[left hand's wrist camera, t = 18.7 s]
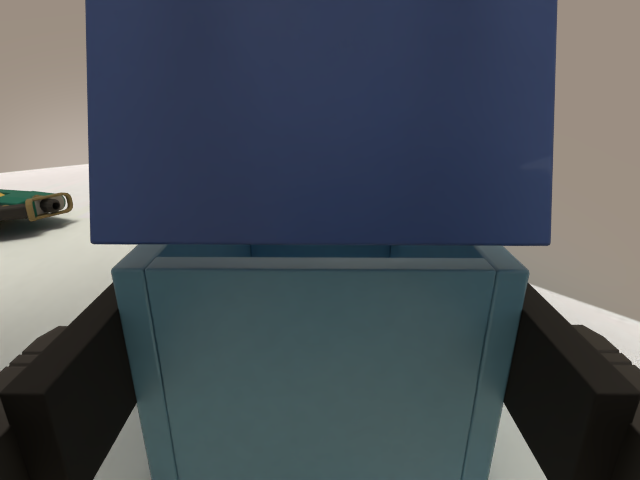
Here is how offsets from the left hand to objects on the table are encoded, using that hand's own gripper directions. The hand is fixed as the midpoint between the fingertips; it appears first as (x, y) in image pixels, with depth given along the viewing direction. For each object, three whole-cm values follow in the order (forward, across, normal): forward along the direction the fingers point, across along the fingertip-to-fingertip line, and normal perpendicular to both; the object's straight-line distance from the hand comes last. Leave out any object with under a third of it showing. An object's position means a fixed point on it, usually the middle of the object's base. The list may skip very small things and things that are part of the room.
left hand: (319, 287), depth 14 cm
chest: (+3, 0, -6) cm, 7 cm away
